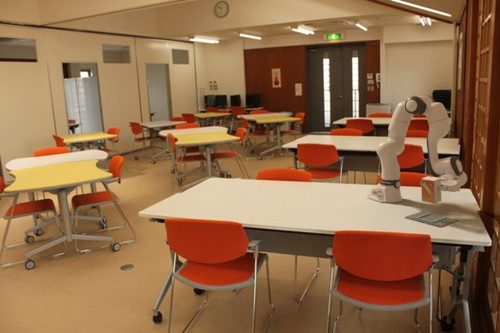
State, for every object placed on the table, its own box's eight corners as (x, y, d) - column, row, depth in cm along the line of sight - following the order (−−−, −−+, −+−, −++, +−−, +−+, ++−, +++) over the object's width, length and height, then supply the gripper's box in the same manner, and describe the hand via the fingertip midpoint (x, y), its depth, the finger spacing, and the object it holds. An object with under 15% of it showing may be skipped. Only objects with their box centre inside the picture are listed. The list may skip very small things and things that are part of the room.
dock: (404, 218, 250) (404, 215, 250) (422, 212, 259) (422, 210, 259) (440, 227, 232) (440, 225, 232) (458, 220, 241) (458, 218, 241)
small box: (421, 201, 245) (420, 178, 242) (428, 198, 248) (427, 175, 246) (435, 204, 238) (434, 180, 236) (441, 200, 242) (441, 177, 239)
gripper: (429, 174, 257) (414, 178, 249) (463, 180, 240) (448, 184, 233) (429, 185, 258) (414, 189, 251) (462, 191, 241) (447, 196, 234)
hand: (430, 187), depth 242 cm, fingers closed on small box, 8 cm apart
